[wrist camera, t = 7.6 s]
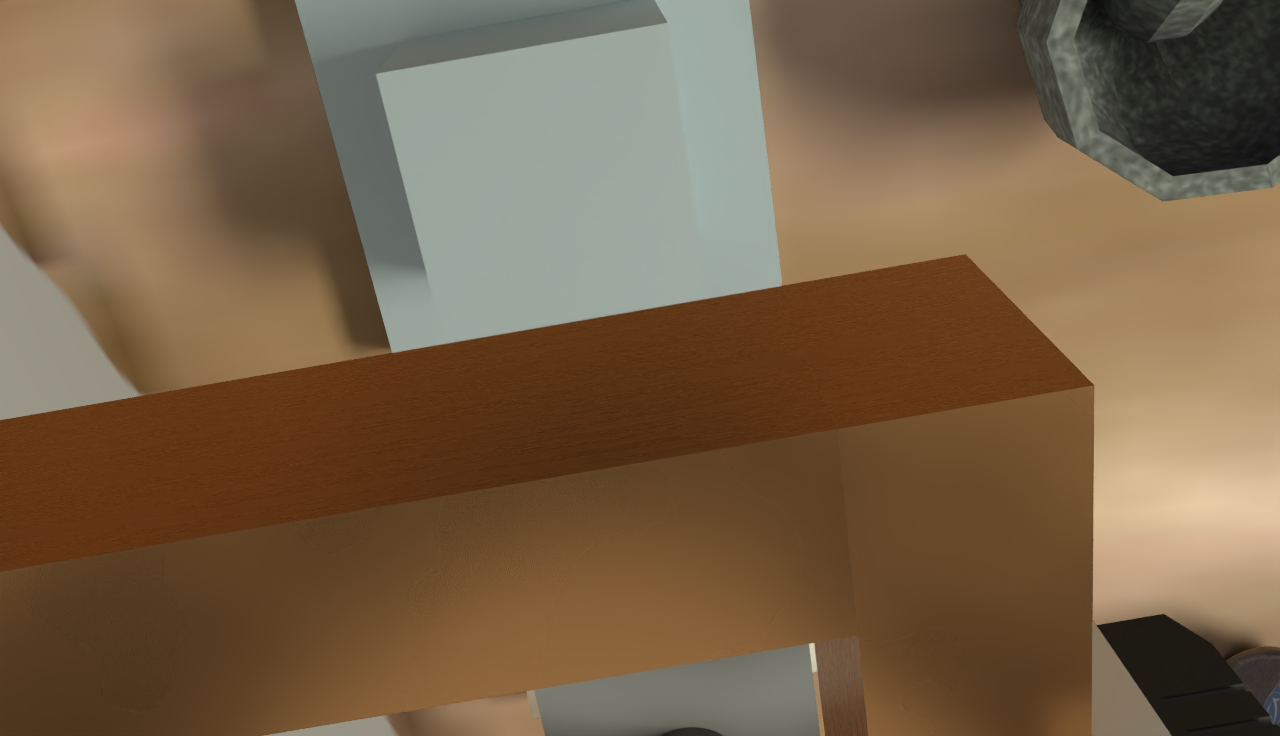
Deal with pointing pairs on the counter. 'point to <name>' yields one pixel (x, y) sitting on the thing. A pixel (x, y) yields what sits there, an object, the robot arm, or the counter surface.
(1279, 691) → the tin
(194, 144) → the counter surface
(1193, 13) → the mortar and pestle
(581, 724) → the post stand
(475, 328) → the block
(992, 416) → the link
